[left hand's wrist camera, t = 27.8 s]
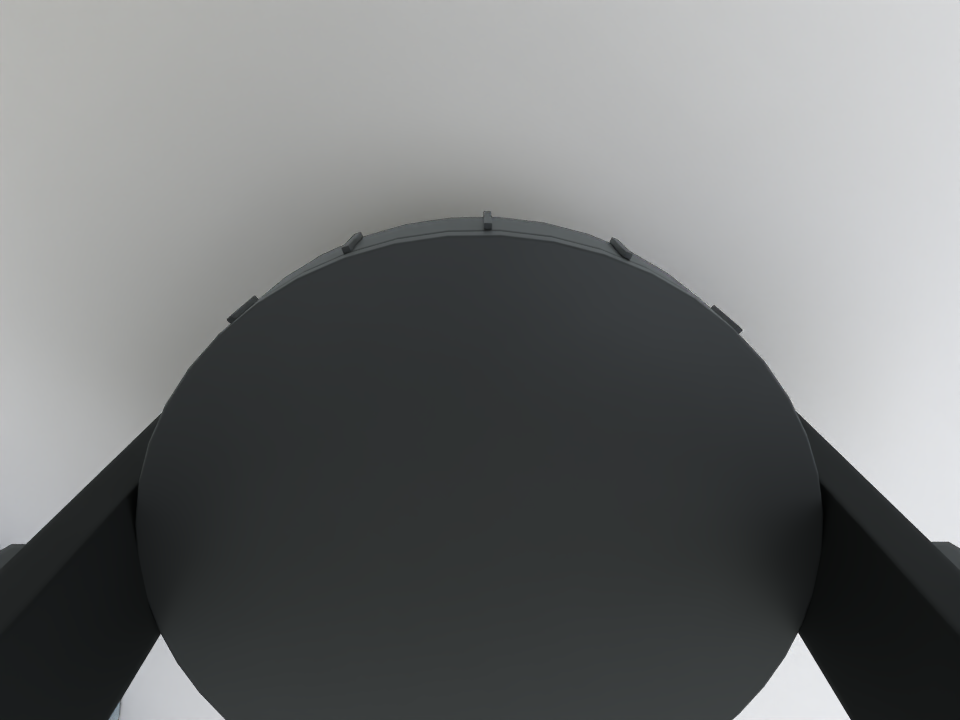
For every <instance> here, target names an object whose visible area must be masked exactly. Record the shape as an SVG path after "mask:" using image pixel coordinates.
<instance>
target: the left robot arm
mask: <svg viewBox="0 0 960 720" xmlns="http://www.w3.org/2000/svg"><path fill="white" fill-rule="evenodd" d="M796 413H797V412H796ZM161 414H162V413H161ZM161 414H160V415H159V416H158V417H157V418H156V419H155V420H154V421H153V422H152V423H151V424H150V425H149V426H148V427H147V428H146V429H145V430H144V431H143V432H142V433H141V434H140V435H139V436H138V437H136V438H135V439H134V440H133V441H132V442H131V443H130V444H129V445H128V446H127V447H126V448H125V449H124V450H123V451H122V452H121V453H120V454H119V455H118V456H117V457H116V458H115V459H114V460H113V461H112V462H111V463H110V464H109V465H108V466H107V467H105V468H104V469H103V470H102V471H101V472H100V473H99V474H98V475H97V476H96V477H95V478H94V479H93V480H92V481H91V482H90V483H89V484H88V485H87V486H86V487H85V488H84V489H83V490H82V491H81V492H80V493H79V494H78V495H77V496H76V497H74V498H73V499H72V500H71V501H70V502H69V503H68V504H67V505H66V506H65V507H64V508H63V509H62V510H61V511H60V512H59V513H58V514H57V515H56V516H55V517H54V518H53V519H52V520H51V521H50V522H49V523H48V524H47V525H46V526H45V527H43V528H42V529H41V530H40V531H39V532H38V533H37V534H36V535H35V536H34V537H33V538H32V539H31V540H30V541H29V542H28V543H27V544H11V545H9V546H8V547H6V548H4V549H2V550H1V551H0V720H109V718H110V717H111V715H112V713H113V712H114V710H115V708H116V707H117V705H118V703H119V702H120V700H121V699H122V697H123V695H124V694H125V692H126V690H127V689H128V687H129V685H130V684H131V682H132V680H133V679H134V677H135V675H136V674H137V672H138V670H139V669H140V667H141V665H142V664H143V662H144V660H145V659H146V657H147V655H148V654H149V652H150V650H151V649H152V647H153V646H154V644H155V642H156V641H157V639H158V637H159V636H160V634H161V633H160V631H159V629H158V626H157V623H156V621H155V618H154V616H153V613H152V611H151V608H150V605H149V602H148V599H147V594H146V590H145V585H144V580H143V575H142V571H141V566H140V561H139V556H138V550H137V541H136V526H135V519H136V508H137V497H138V486H139V479H140V475H141V472H142V468H143V464H144V460H145V456H146V452H147V448H148V444H149V441H150V439H151V437H152V435H153V432H154V430H155V428H156V425H157V423H158V421H159V419H160V416H161ZM797 415H798V417H799V419H800V421H801V424H802V426H803V428H804V430H805V432H806V434H807V437H808V440H809V444H810V447H811V451H812V454H813V457H814V461H815V464H816V468H817V471H818V476H819V484H820V492H821V500H822V508H823V534H822V552H821V557H820V561H819V566H818V571H817V576H816V581H815V586H814V591H813V595H812V598H811V601H810V604H809V607H808V609H807V612H806V615H805V618H804V621H803V624H802V626H801V628H800V629H799V631H798V633H799V635H800V636H801V638H802V640H803V641H804V643H805V645H806V646H807V648H808V650H809V651H810V653H811V655H812V656H813V658H814V659H815V661H816V663H817V664H818V666H819V668H820V669H821V671H822V673H823V674H824V676H825V678H826V679H827V681H828V683H829V684H830V686H831V688H832V689H833V691H834V693H835V694H836V696H837V698H838V699H839V701H840V703H841V704H842V706H843V708H844V709H845V711H846V712H847V714H848V716H849V717H850V719H851V720H960V548H958V547H957V546H955V545H953V544H951V543H950V542H931V541H929V540H928V539H927V538H926V537H925V536H924V535H923V534H922V533H921V532H920V531H919V530H918V529H917V528H916V527H915V526H914V525H913V524H912V523H911V522H910V521H909V520H908V519H907V518H906V517H905V516H904V515H903V514H902V513H901V512H900V511H898V510H897V509H896V508H895V507H894V506H893V505H892V504H891V503H890V502H889V501H888V500H887V499H886V498H885V497H884V496H883V495H882V494H881V493H880V492H879V491H878V490H877V489H876V488H875V487H874V486H873V485H872V484H871V483H870V482H869V481H867V480H866V479H865V478H864V477H863V476H862V475H861V474H860V473H859V472H858V471H857V470H856V469H855V468H854V467H853V466H852V465H851V464H850V463H849V462H848V461H847V460H846V459H845V458H844V457H843V456H842V455H841V454H840V453H839V452H838V451H836V450H835V449H834V448H833V447H832V446H831V445H830V444H829V443H828V442H827V441H826V440H825V439H824V438H823V437H822V436H821V435H820V434H819V433H818V432H817V431H816V430H815V429H814V428H813V427H812V426H811V425H810V424H809V423H808V422H807V421H805V420H804V419H803V418H802V417H801V416H800V415H799V414H798V413H797Z"/></svg>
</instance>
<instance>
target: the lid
mask: <svg viewBox="0 0 960 720" xmlns="http://www.w3.org/2000/svg"><path fill="white" fill-rule="evenodd" d="M227 321H228V322H229V323H231V324H230V325H229V326H228V327H227V328H225V329H224V330H223V331H222V332H221V333H220V334H219V335H218V336H217V337H216V338H215V339H214V340H213V342H212V343H211V344H210V345H209V346H208V347H207V348H206V349H205V351H204V352H203V353H202V354H201V355H200V356H199V357H198V359H197V360H196V361H195V362H194V363H193V364H192V365H191V366H190V368H189V369H188V370H187V372H186V374H185V375H184V377H183V378H182V380H181V381H180V383H179V384H178V386H177V388H176V389H175V391H174V392H173V394H172V395H171V397H170V399H169V400H168V402H167V403H166V405H165V407H164V409H163V412H162V414H161V416H160V419H159V421H158V423H157V425H156V428H155V430H154V432H153V435H152V437H151V439H150V441H149V444H148V448H147V452H146V456H145V460H144V464H143V468H142V472H141V475H140V479H139V486H138V497H137V508H136V519H135V526H136V541H137V550H138V556H139V561H140V566H141V571H142V575H143V580H144V585H145V590H146V594H147V599H148V602H149V605H150V608H151V611H152V613H153V616H154V618H155V621H156V623H157V626H158V629H159V631H160V633H161V635H162V637H163V638H164V640H165V642H166V644H167V645H168V647H169V649H170V651H171V653H172V654H173V656H174V658H175V660H176V662H177V663H178V665H179V666H180V667H181V669H182V670H183V671H184V673H185V674H186V675H187V677H188V678H189V679H190V681H191V682H192V683H193V685H194V686H195V687H196V689H197V690H198V691H199V693H200V694H201V695H202V696H203V697H204V698H205V699H206V700H207V701H208V702H209V703H210V704H211V705H212V706H213V707H214V708H215V709H216V710H217V711H218V712H219V713H220V714H221V716H222V717H223V718H224V719H225V720H733V719H734V718H735V717H736V716H737V715H738V714H740V712H741V711H742V710H743V709H744V708H745V707H746V706H747V705H748V704H749V703H750V702H751V700H752V699H753V698H754V697H755V696H756V695H757V694H758V693H759V692H760V691H761V690H762V688H763V687H764V686H765V685H766V683H767V682H768V680H769V679H770V678H771V676H772V675H773V673H774V672H775V671H776V669H777V668H778V666H779V665H780V663H781V662H782V661H783V659H784V658H785V656H786V654H787V652H788V651H789V649H790V647H791V645H792V643H793V641H794V639H795V637H796V635H797V633H798V631H799V629H800V628H801V626H802V624H803V621H804V618H805V615H806V612H807V609H808V607H809V604H810V601H811V598H812V595H813V591H814V586H815V581H816V576H817V571H818V566H819V561H820V557H821V552H822V534H823V508H822V500H821V492H820V484H819V476H818V471H817V468H816V464H815V461H814V457H813V454H812V451H811V447H810V444H809V440H808V437H807V434H806V432H805V430H804V428H803V426H802V424H801V421H800V419H799V417H798V415H797V413H796V411H795V409H794V407H793V405H792V403H791V400H790V398H789V397H788V395H787V394H786V392H785V391H784V389H783V388H782V386H781V385H780V383H779V382H778V380H777V379H776V378H775V376H774V375H773V373H772V372H771V370H770V369H769V367H768V366H767V364H766V363H765V362H764V360H763V359H762V358H761V357H760V356H759V355H758V354H757V353H756V352H755V351H754V350H753V349H752V348H751V347H750V345H749V344H748V343H747V342H746V341H745V340H744V339H743V338H742V337H741V336H740V335H739V333H740V332H741V331H742V329H741V328H740V327H739V326H738V325H737V324H736V323H735V322H733V321H732V320H731V319H730V318H729V317H728V316H726V315H725V314H724V313H723V312H722V311H720V310H719V309H718V308H717V307H716V306H715V305H713V306H712V307H711V308H710V307H709V306H707V305H706V304H705V303H704V302H703V301H702V300H701V299H699V298H698V297H697V296H696V295H694V294H693V293H692V292H691V291H689V290H688V289H687V288H686V287H684V286H683V285H682V284H680V283H679V282H678V281H677V280H675V279H674V278H673V277H672V276H670V275H669V274H668V273H666V272H665V271H663V270H661V269H660V268H658V267H656V266H654V265H653V264H651V263H649V262H647V261H646V260H644V259H642V258H641V257H639V256H637V255H635V254H634V253H632V252H630V251H629V250H628V249H627V248H626V247H625V246H624V245H623V244H622V243H621V242H620V241H619V240H617V239H615V238H611V240H610V243H609V242H606V241H604V240H601V239H599V238H596V237H594V236H592V235H589V234H586V233H582V232H578V231H574V230H570V229H567V228H563V227H559V226H555V225H551V224H547V223H543V222H534V221H526V220H518V219H509V218H501V217H491V212H490V211H484V216H483V217H471V218H447V219H440V220H433V221H426V222H419V223H412V224H406V225H402V226H399V227H395V228H392V229H388V230H385V231H381V232H378V233H374V234H371V235H367V236H364V237H363V236H362V233H361V232H359V233H356V234H354V235H353V237H352V238H351V239H350V240H349V241H348V242H347V243H346V244H345V245H343V246H341V247H338V248H336V249H334V250H332V251H329V252H327V253H325V254H323V255H321V256H319V257H317V258H316V259H314V260H313V261H311V262H309V263H308V264H306V265H305V266H303V267H301V268H300V269H298V270H296V271H295V272H293V273H292V274H290V275H288V276H287V277H285V278H284V279H283V280H282V281H280V282H279V283H278V284H277V285H276V286H274V287H273V288H272V289H271V290H270V291H268V292H267V293H266V294H265V295H264V296H262V297H261V298H260V299H258V298H257V297H256V296H253V297H252V298H251V299H250V300H249V301H247V302H246V303H245V304H244V305H243V306H242V307H240V308H239V309H238V310H237V311H236V312H234V313H233V314H232V315H231V316H230V317H229V318H228V319H227Z"/></svg>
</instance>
